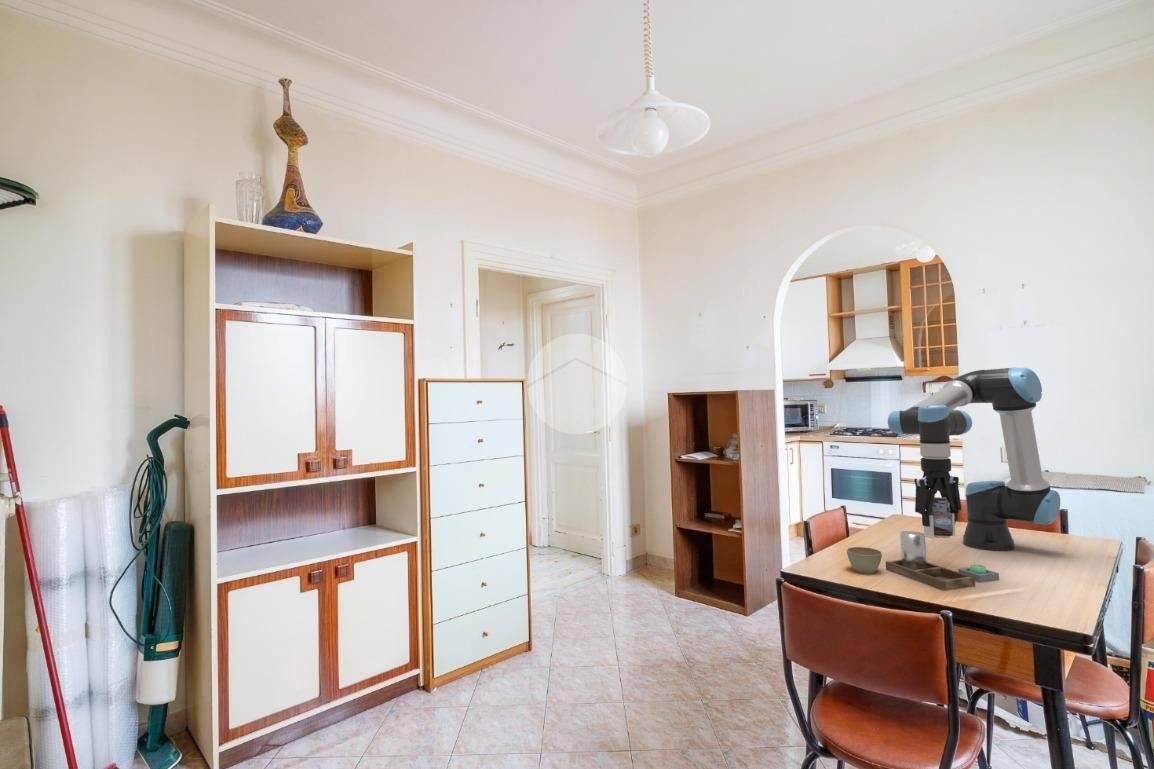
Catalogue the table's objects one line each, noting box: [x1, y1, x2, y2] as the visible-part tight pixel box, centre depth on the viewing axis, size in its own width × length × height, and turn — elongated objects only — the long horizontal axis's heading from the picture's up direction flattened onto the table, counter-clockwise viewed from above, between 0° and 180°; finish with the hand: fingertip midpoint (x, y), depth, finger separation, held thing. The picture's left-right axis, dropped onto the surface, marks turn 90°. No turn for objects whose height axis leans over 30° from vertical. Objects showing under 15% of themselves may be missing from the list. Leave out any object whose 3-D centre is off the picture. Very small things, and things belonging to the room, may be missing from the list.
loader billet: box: [899, 530, 927, 570], centre depth 173 cm, size 7×7×12 cm
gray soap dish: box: [957, 566, 1000, 583], centre depth 166 cm, size 7×7×3 cm
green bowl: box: [846, 546, 883, 574], centre depth 177 cm, size 10×10×7 cm
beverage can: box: [930, 496, 953, 539], centre depth 164 cm, size 6×7×12 cm
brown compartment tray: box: [885, 559, 976, 592], centre depth 168 cm, size 11×21×4 cm, turn 13°
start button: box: [969, 564, 987, 574], centre depth 166 cm, size 4×4×3 cm
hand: (939, 536), depth 163 cm, fingers closed on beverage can, 7 cm apart
